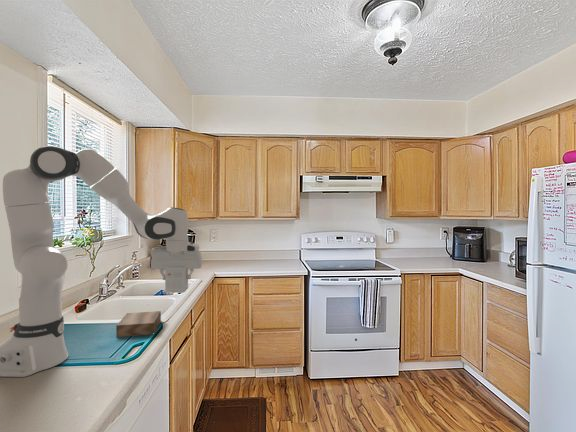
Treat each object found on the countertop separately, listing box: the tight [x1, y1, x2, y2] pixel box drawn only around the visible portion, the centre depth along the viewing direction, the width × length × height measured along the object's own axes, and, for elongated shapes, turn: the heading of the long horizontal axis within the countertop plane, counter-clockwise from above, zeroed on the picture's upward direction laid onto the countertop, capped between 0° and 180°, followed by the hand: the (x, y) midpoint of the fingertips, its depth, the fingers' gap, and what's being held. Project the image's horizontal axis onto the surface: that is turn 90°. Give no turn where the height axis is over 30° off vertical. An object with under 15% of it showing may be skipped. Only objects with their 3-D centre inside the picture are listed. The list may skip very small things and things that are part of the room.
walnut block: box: [115, 310, 162, 338], centre depth 131 cm, size 14×14×5 cm
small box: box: [164, 266, 189, 293], centre depth 129 cm, size 8×6×10 cm
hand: (177, 279), depth 129 cm, fingers closed on small box, 8 cm apart
